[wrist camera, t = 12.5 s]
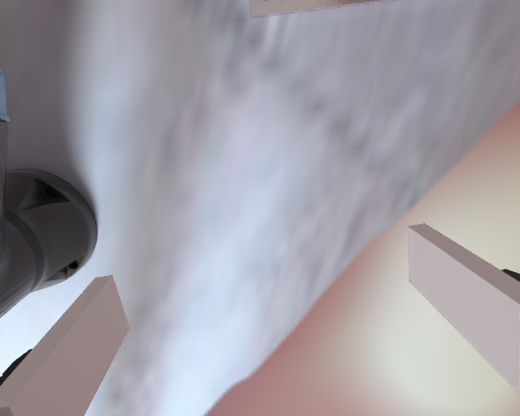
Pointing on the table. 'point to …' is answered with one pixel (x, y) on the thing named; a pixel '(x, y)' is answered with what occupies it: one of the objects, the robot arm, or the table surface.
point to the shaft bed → (301, 6)
